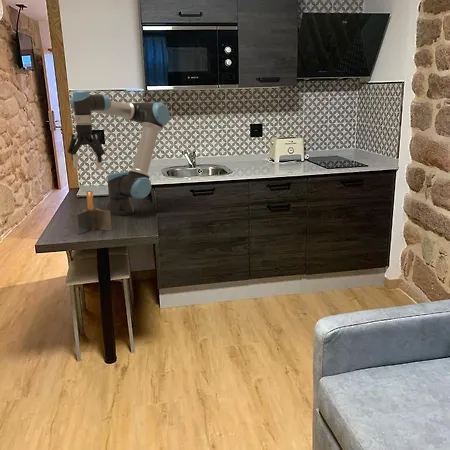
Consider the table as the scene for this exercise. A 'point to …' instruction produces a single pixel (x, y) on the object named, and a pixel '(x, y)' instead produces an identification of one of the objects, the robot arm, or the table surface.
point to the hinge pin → (90, 200)
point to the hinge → (93, 220)
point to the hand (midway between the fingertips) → (87, 168)
